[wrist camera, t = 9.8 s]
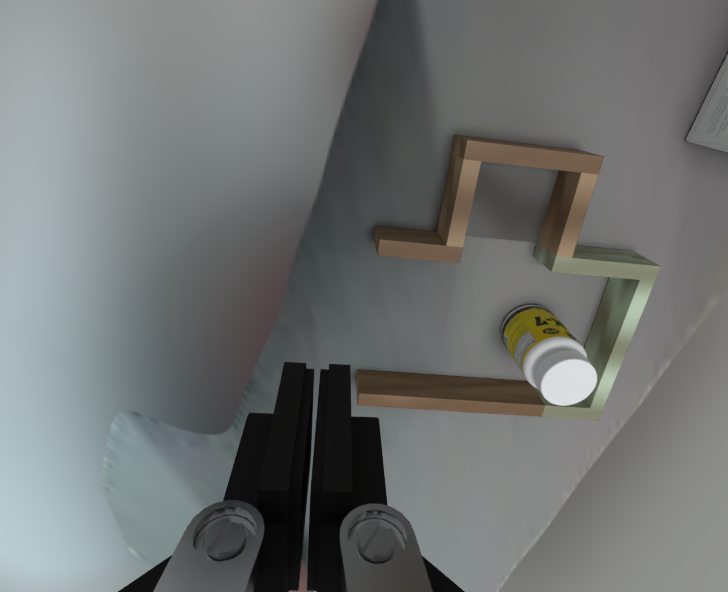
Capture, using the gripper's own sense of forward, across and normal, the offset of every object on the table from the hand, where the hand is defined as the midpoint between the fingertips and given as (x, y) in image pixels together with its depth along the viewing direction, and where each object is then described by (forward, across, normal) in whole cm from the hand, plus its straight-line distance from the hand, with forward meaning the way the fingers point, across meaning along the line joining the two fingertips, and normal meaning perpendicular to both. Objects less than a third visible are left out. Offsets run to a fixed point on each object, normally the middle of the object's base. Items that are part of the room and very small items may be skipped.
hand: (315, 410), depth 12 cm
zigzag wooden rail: (+25, -14, +6) cm, 29 cm away
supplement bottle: (+25, -17, +11) cm, 32 cm away
